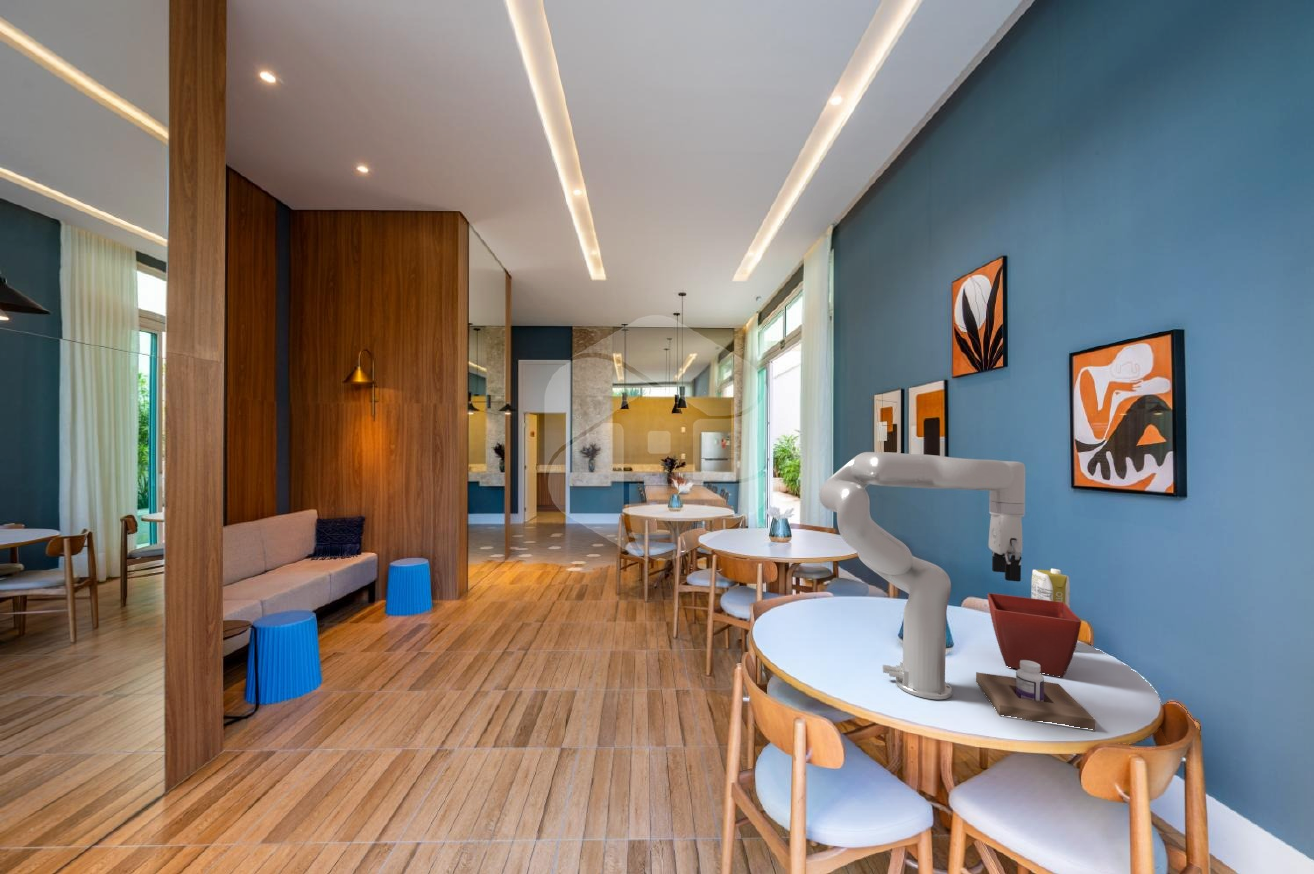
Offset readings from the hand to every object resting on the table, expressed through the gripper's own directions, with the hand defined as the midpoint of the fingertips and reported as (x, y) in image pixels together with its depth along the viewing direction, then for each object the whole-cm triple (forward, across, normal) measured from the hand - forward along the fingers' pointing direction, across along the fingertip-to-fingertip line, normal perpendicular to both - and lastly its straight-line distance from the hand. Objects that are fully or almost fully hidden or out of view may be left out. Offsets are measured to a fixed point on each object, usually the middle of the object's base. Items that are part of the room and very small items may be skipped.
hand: (1005, 576), depth 131 cm
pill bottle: (+28, +8, +3) cm, 30 cm away
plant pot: (+29, -19, +12) cm, 36 cm away
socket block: (+28, +8, +3) cm, 30 cm away
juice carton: (+28, -39, +24) cm, 54 cm away
